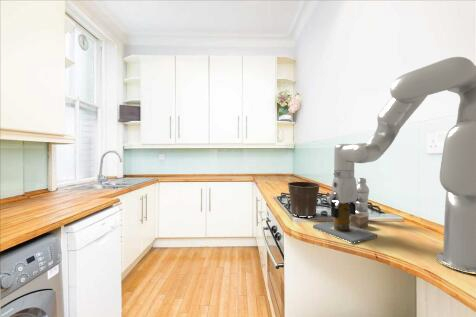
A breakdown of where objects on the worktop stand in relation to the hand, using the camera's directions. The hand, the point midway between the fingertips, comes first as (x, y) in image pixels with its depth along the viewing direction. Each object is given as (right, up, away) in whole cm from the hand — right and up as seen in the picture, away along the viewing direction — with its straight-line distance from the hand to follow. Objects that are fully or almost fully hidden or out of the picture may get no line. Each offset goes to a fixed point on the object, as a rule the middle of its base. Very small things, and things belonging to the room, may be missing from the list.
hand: (343, 215), depth 102 cm
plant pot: (-10, -6, +26) cm, 28 cm away
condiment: (0, -6, 0) cm, 6 cm away
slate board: (0, -7, 0) cm, 7 cm away
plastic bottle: (+15, -6, +15) cm, 22 cm away
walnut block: (+10, -7, +7) cm, 14 cm away
